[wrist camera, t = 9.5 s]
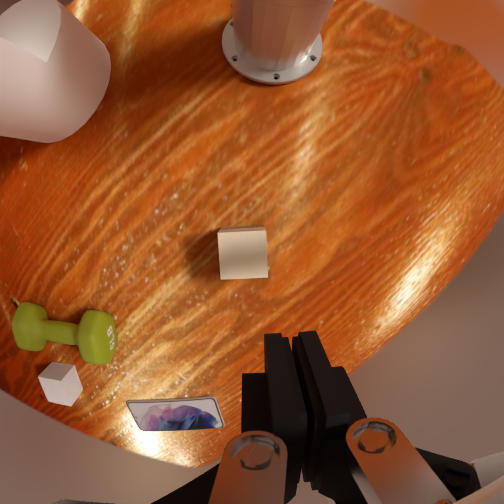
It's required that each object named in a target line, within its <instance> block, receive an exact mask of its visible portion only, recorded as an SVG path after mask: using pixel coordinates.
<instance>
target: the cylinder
mask: <svg viewBox="0 0 504 504" xmlns="http://www.w3.org/2000/svg"><path fill="white" fill-rule="evenodd" d="M110 73H111V61H110V54H109V52H108V50H107V48H106V46H105V45H104V44H103V43H102V42H101V41H100V40H99V39H98V38H97V37H96V36H95V35H94V34H93V33H92V32H91V31H90V30H89V29H88V28H87V27H86V26H84V25H83V24H82V23H81V22H80V21H79V20H78V19H77V18H76V17H75V16H74V15H73V14H72V13H70V12H69V11H68V10H67V9H66V8H65V7H64V6H63V5H62V4H61V3H59V2H58V1H57V0H22V1H19V2H18V3H16V4H14V5H13V6H11V7H10V8H9V9H8V10H7V11H5V12H4V13H3V14H1V15H0V136H5V137H12V138H18V139H24V140H30V141H36V142H43V143H52V142H57V141H61V140H63V139H65V138H66V137H68V136H70V135H72V134H74V133H75V132H76V131H77V130H78V129H79V128H81V127H82V126H83V125H84V124H85V123H86V122H87V121H88V120H89V118H90V117H91V116H92V115H93V114H94V112H95V111H96V109H97V108H98V106H99V104H100V102H101V101H102V99H103V97H104V95H105V92H106V89H107V86H108V84H109V81H110Z"/></svg>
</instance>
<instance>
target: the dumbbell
mask: <svg viewBox="0 0 504 504" xmlns="http://www.w3.org/2000/svg"><path fill="white" fill-rule="evenodd" d="M11 326H12V331H13V334H14V338H15V341H16V344H17V345H18V347H19V348H21V349H24V350H29V351H41V350H42V349H43V348H44V346H45V345H46V342H47V340H49V341H52V342H57V343H62V344H68V345H78V348H79V351H80V354H81V356H82V358H83V360H84V361H86V362H87V363H91V364H96V365H105V364H108V363H110V362H111V360H112V358H113V355H114V352H115V348H116V344H117V333H116V327H115V322H114V319H113V317H112V315H111V314H109V313H107V312H104V311H100V310H88V311H86V312H85V313H84V314H83V316H82V318H81V321H80V324H79V325H77V324H74V323H69V322H63V321H55V320H49V319H48V315H47V312H46V309H45V308H44V307H42V306H40V305H37V304H34V303H30V302H22V303H21V304H20V305H19V306H18V308H17V310H16V312H15V314H14V316H13V318H12V322H11Z"/></svg>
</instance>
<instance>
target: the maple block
mask: <svg viewBox="0 0 504 504" xmlns="http://www.w3.org/2000/svg"><path fill="white" fill-rule="evenodd" d="M218 248H219V262H220V276H221V280H223V279H245V278H264V277H268V268H267V241H266V229H265V227H264V225H256V226H236V227H221V228H220V230H219V231H218Z"/></svg>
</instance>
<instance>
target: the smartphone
mask: <svg viewBox="0 0 504 504" xmlns="http://www.w3.org/2000/svg"><path fill="white" fill-rule="evenodd" d="M127 405H128V407H129V409H130V411H131V413H132V415H133V417H134V419H135V421H136V422H137V424H138V426H139V428H140V429H141V430H143V431H179V430H200V429H214V428H222V427H224V425H225V423H224V420H223V417H222V414H221V412H220V408H219V405H218V402H217V399H216V397H214V396H203V397H191V398H176V399H155V400H151V399H150V400H128V401H127Z"/></svg>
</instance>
